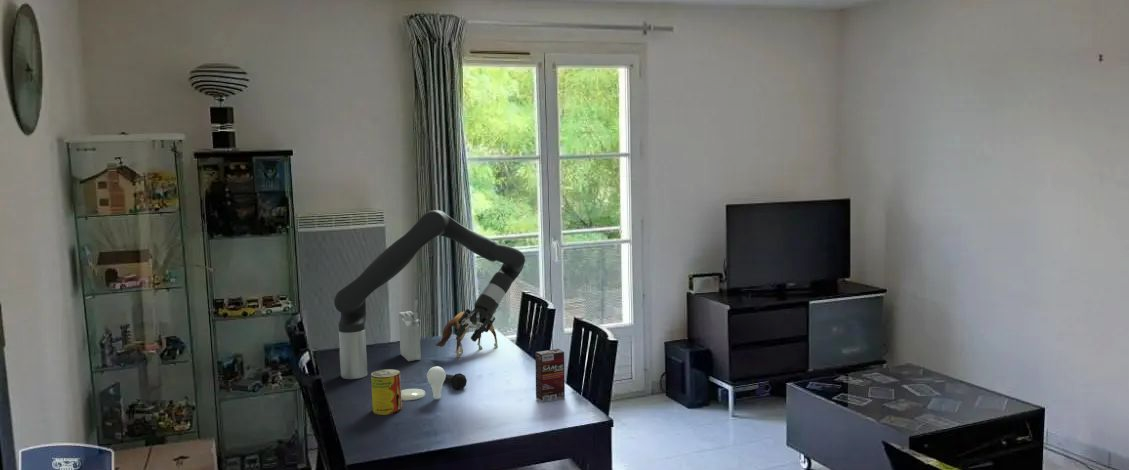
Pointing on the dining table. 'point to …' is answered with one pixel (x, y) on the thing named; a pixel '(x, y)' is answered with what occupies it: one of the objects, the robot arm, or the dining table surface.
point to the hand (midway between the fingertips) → (464, 338)
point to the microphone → (456, 381)
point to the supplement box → (550, 375)
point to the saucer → (412, 394)
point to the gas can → (410, 334)
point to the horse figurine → (448, 332)
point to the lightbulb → (436, 380)
